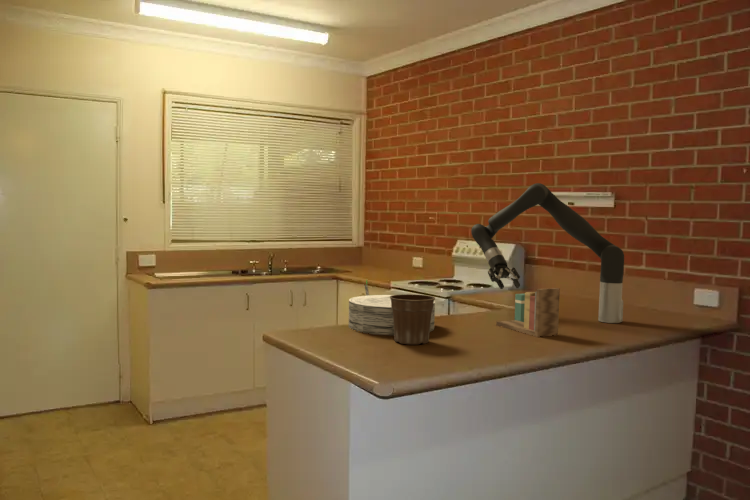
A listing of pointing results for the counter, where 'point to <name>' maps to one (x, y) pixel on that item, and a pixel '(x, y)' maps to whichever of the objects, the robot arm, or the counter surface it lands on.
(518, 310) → the teal book
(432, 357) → the counter surface
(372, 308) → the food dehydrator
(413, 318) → the plant pot
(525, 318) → the book rack
